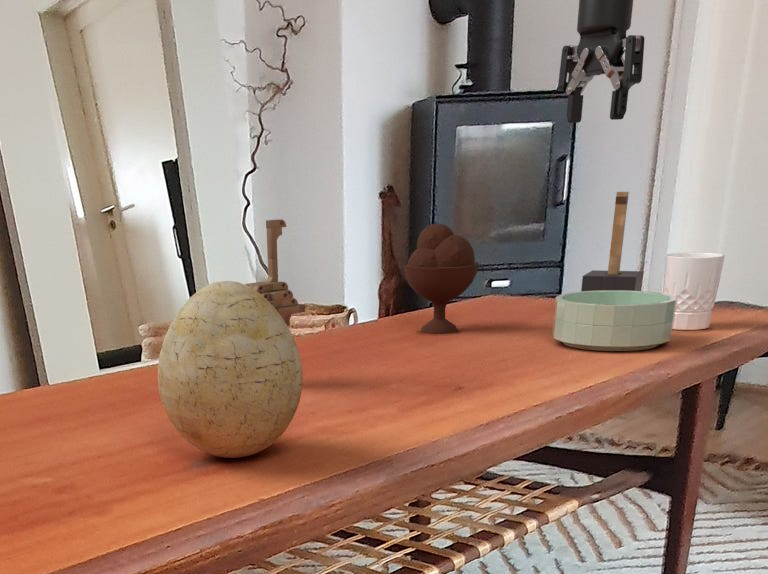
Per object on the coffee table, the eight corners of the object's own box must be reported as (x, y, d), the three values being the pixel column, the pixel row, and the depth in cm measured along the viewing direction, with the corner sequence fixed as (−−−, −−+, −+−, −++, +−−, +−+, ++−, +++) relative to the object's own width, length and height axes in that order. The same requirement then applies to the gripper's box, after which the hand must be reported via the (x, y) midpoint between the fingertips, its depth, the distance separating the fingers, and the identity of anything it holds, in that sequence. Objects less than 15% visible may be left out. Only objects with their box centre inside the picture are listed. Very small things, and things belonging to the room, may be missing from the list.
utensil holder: (638, 309, 161) (643, 271, 158) (631, 316, 154) (636, 276, 151) (588, 308, 164) (592, 270, 161) (578, 314, 157) (582, 275, 155)
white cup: (670, 321, 149) (679, 251, 144) (721, 325, 144) (733, 253, 139) (647, 328, 144) (656, 256, 139) (700, 332, 139) (711, 258, 134)
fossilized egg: (241, 430, 96) (233, 269, 90) (333, 453, 88) (331, 278, 81) (136, 456, 89) (119, 283, 82) (225, 484, 80) (214, 294, 74)
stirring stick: (615, 311, 159) (629, 191, 151) (613, 313, 158) (627, 191, 150) (604, 311, 160) (618, 191, 152) (603, 312, 159) (616, 192, 151)
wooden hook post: (271, 376, 120) (266, 218, 112) (308, 383, 115) (305, 219, 107) (159, 399, 110) (145, 227, 102) (195, 408, 105) (183, 229, 97)
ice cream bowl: (397, 335, 144) (399, 226, 137) (411, 324, 154) (413, 221, 147) (468, 337, 141) (474, 225, 134) (478, 325, 151) (484, 220, 144)
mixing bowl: (676, 336, 137) (683, 291, 134) (662, 355, 124) (669, 307, 122) (564, 331, 143) (569, 289, 140) (540, 349, 131) (544, 303, 128)
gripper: (664, -14, 135) (649, 118, 142) (588, 1, 146) (578, 123, 153) (626, -16, 132) (613, 119, 139) (551, -1, 143) (542, 124, 150)
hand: (594, 121), depth 146 cm, fingers open, 8 cm apart
